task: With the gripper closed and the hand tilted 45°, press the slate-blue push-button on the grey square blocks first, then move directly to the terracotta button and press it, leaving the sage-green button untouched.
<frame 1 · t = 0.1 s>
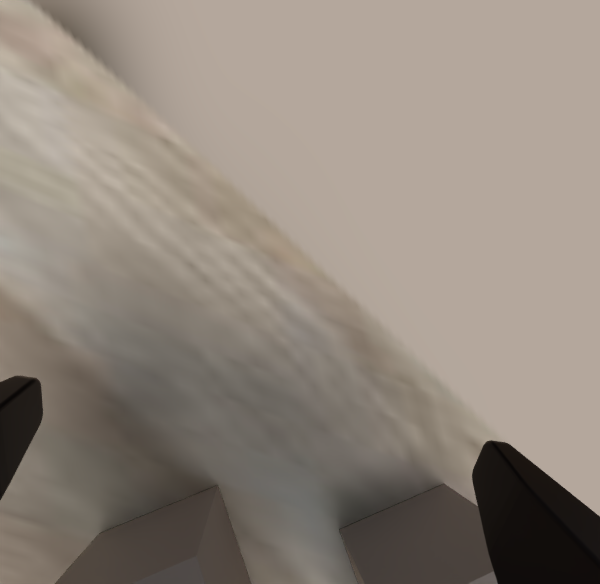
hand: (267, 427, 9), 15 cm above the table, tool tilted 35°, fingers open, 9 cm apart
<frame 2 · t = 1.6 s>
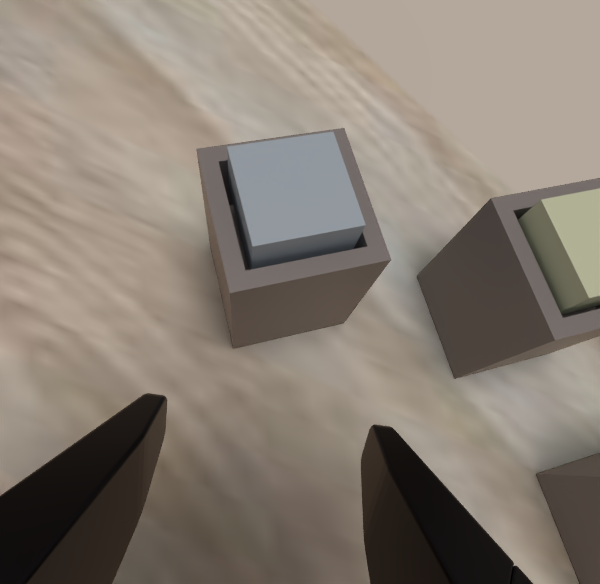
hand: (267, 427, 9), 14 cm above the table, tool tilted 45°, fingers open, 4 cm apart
grey square blocks: (436, 385, 24), on the table
slate-blue button: (291, 204, 17), point 8 cm above the table, slide at 0.0 cm
sage-green button: (586, 251, 18), point 8 cm above the table, slide at 0.0 cm
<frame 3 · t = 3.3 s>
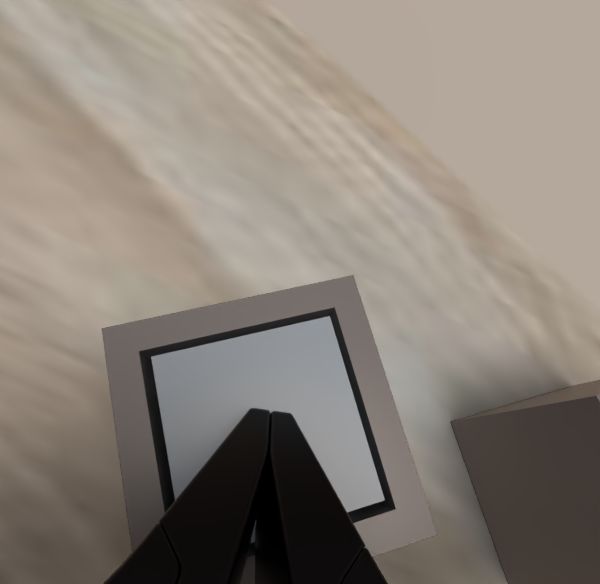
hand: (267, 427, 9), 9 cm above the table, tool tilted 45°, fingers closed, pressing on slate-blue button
slate-blue button: (262, 430, 11), point 8 cm above the table, slide at 0.8 cm, touching gripper
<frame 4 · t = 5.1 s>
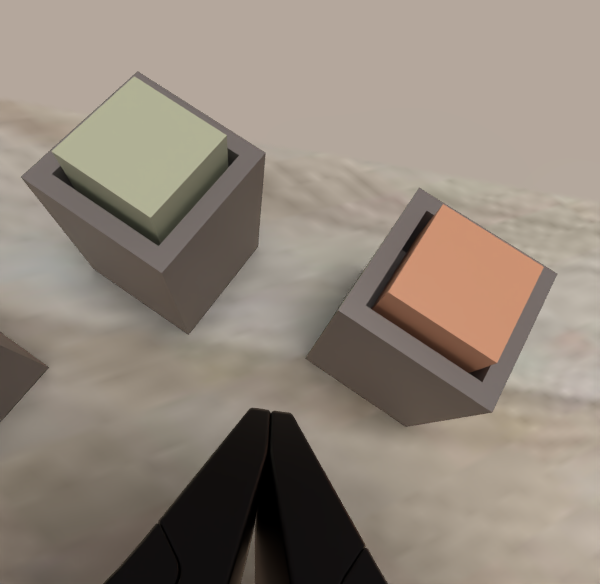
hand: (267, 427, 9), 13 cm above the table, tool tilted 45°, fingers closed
grey square blocks: (175, 354, 22), on the table
sage-green button: (149, 165, 16), point 8 cm above the table, slide at 0.0 cm
terracotta button: (452, 291, 16), point 8 cm above the table, slide at 0.0 cm
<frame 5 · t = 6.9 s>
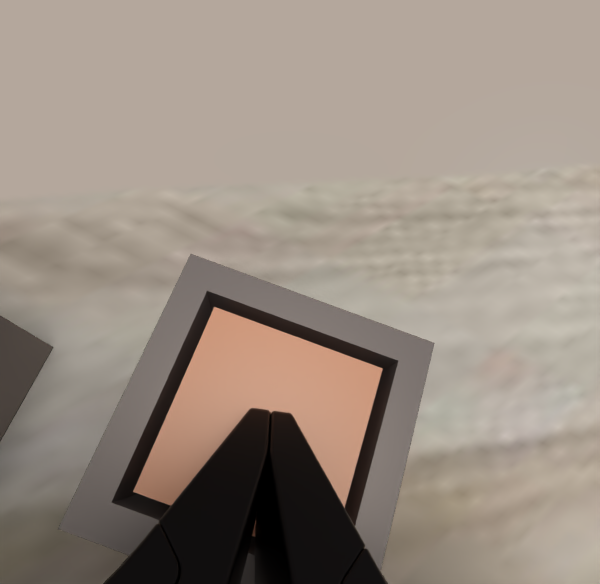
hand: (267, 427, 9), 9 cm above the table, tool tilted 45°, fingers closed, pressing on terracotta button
terracotta button: (264, 429, 11), point 7 cm above the table, slide at 1.2 cm, touching gripper
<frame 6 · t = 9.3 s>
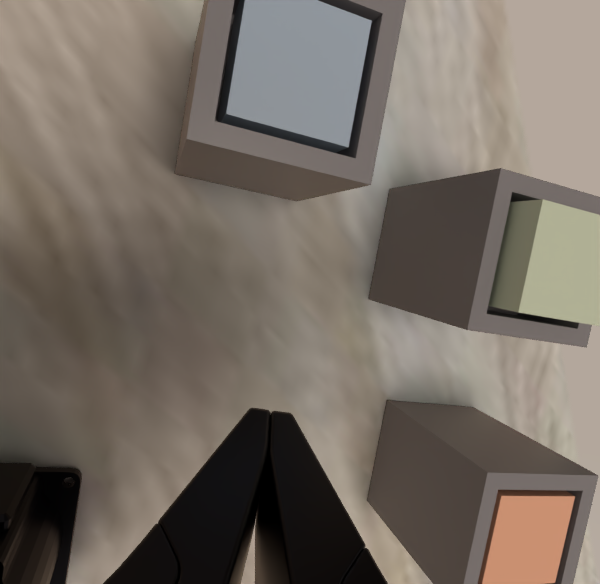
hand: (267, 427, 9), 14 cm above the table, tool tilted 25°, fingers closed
grey square blocks: (349, 297, 25), on the table
slate-blue button: (290, 78, 15), point 7 cm above the table, slide at 1.3 cm
sage-green button: (545, 263, 18), point 8 cm above the table, slide at 0.0 cm
terracotta button: (507, 523, 21), point 7 cm above the table, slide at 1.3 cm
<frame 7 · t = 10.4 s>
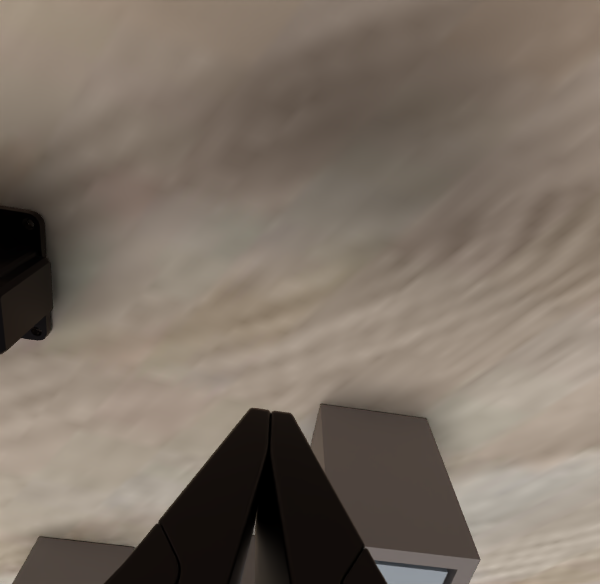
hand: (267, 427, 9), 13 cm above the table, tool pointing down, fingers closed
grey square blocks: (222, 519, 29), on the table
slate-blue button: (381, 569, 20), point 7 cm above the table, slide at 1.3 cm
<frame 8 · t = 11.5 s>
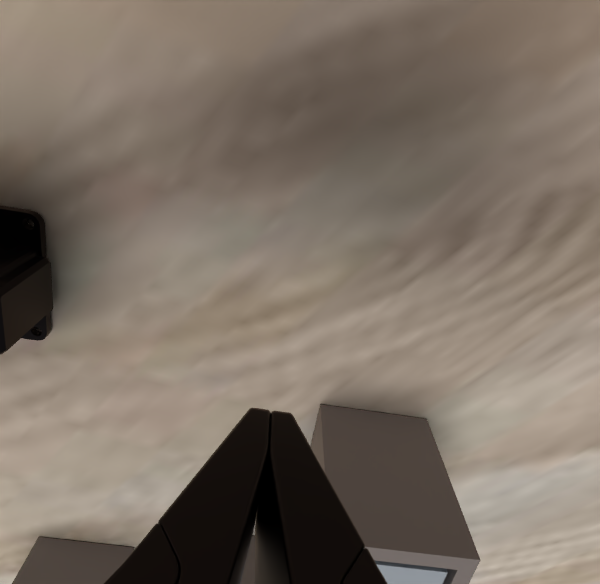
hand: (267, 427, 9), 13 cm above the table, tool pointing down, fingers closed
grey square blocks: (222, 519, 29), on the table
slate-blue button: (381, 569, 20), point 7 cm above the table, slide at 1.3 cm
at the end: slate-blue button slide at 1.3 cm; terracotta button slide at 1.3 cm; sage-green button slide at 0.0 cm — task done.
